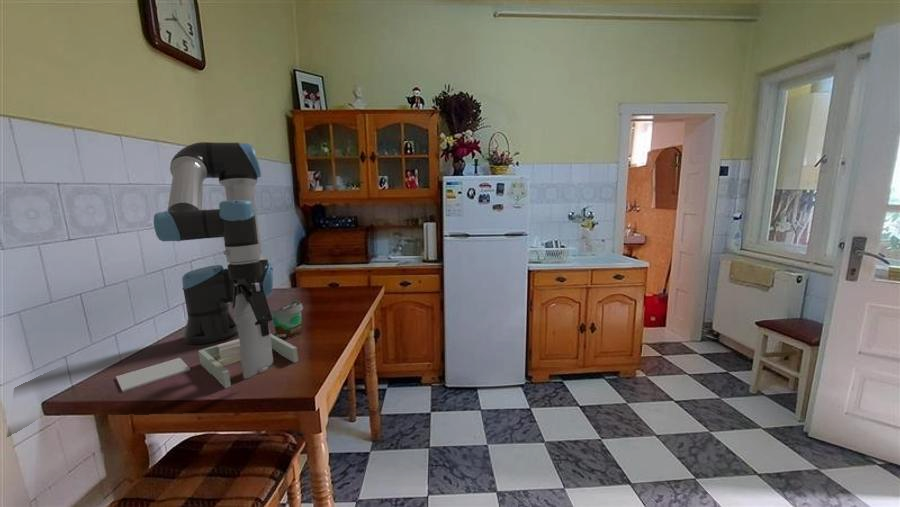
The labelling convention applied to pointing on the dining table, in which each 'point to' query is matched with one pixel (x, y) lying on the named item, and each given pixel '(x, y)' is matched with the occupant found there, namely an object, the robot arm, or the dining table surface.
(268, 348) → the tall pale column
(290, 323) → the food container
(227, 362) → the offcut lower
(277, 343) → the rack
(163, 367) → the mat
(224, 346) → the offcut upper
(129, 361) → the dining table surface
